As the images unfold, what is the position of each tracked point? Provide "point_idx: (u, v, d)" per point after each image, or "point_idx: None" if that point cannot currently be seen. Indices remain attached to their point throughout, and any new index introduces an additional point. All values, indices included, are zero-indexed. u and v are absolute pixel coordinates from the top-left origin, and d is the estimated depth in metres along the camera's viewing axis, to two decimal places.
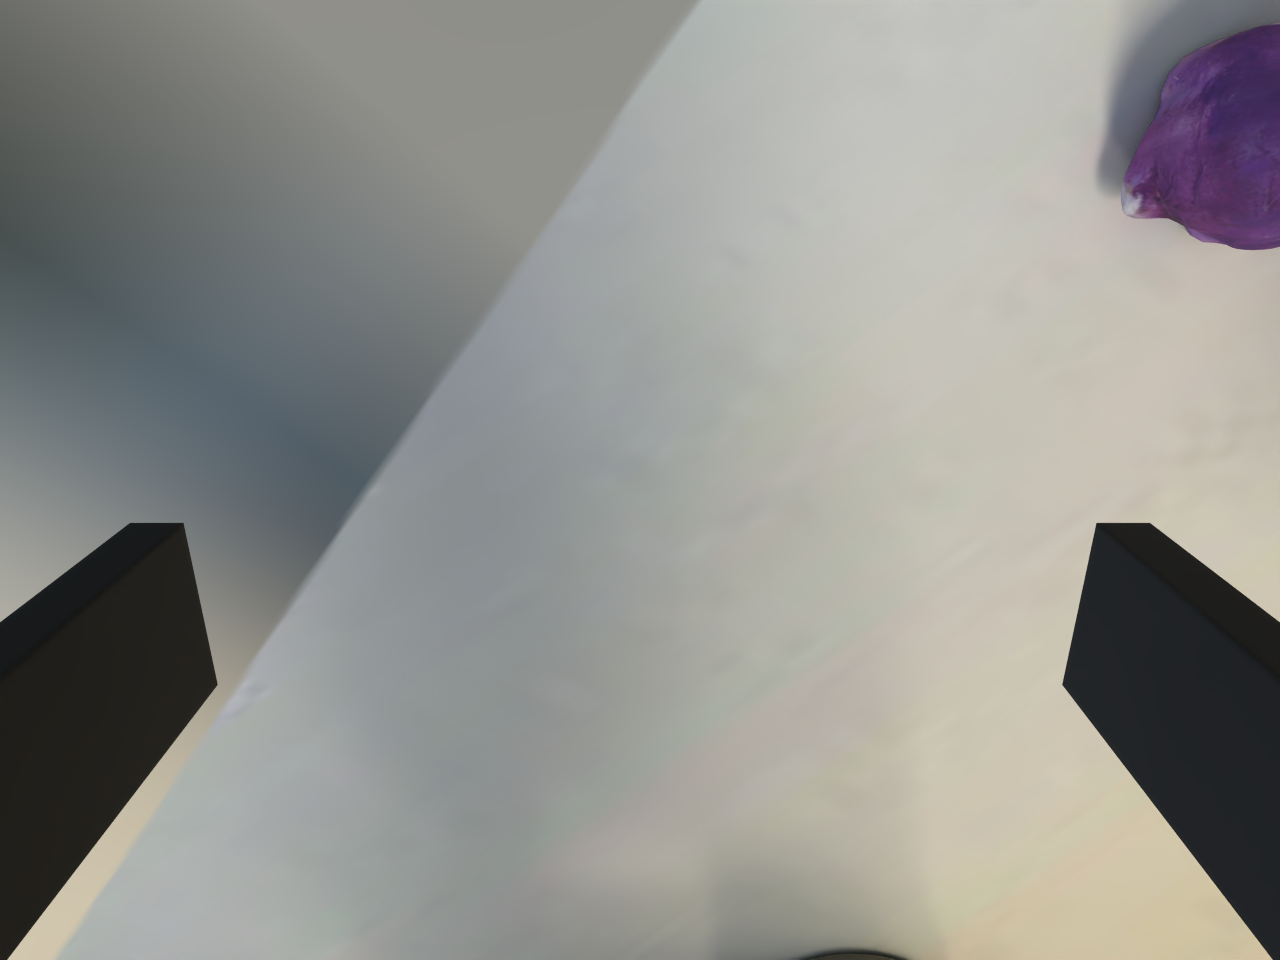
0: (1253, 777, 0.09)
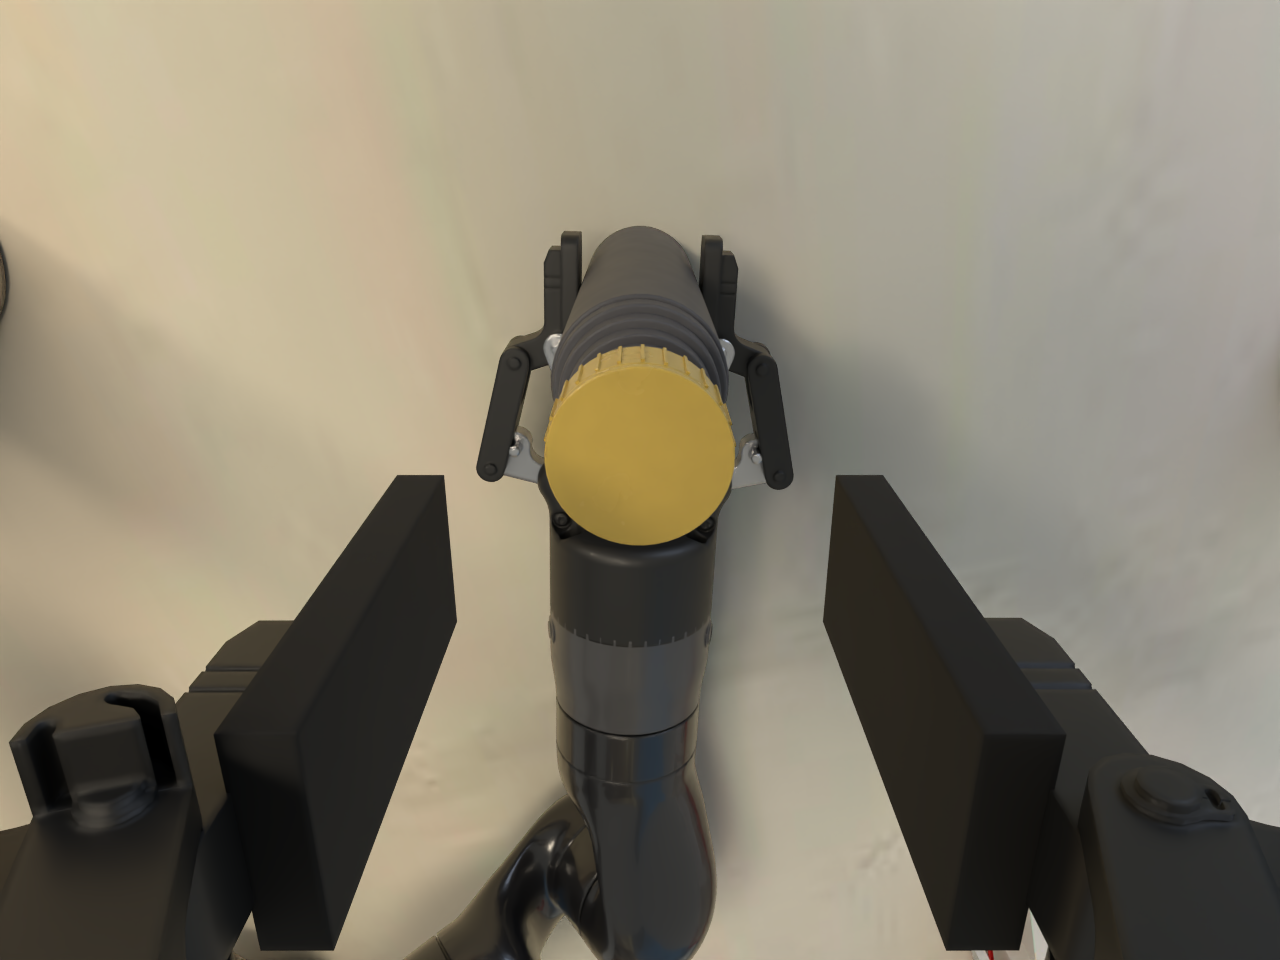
0: (892, 675, 0.11)
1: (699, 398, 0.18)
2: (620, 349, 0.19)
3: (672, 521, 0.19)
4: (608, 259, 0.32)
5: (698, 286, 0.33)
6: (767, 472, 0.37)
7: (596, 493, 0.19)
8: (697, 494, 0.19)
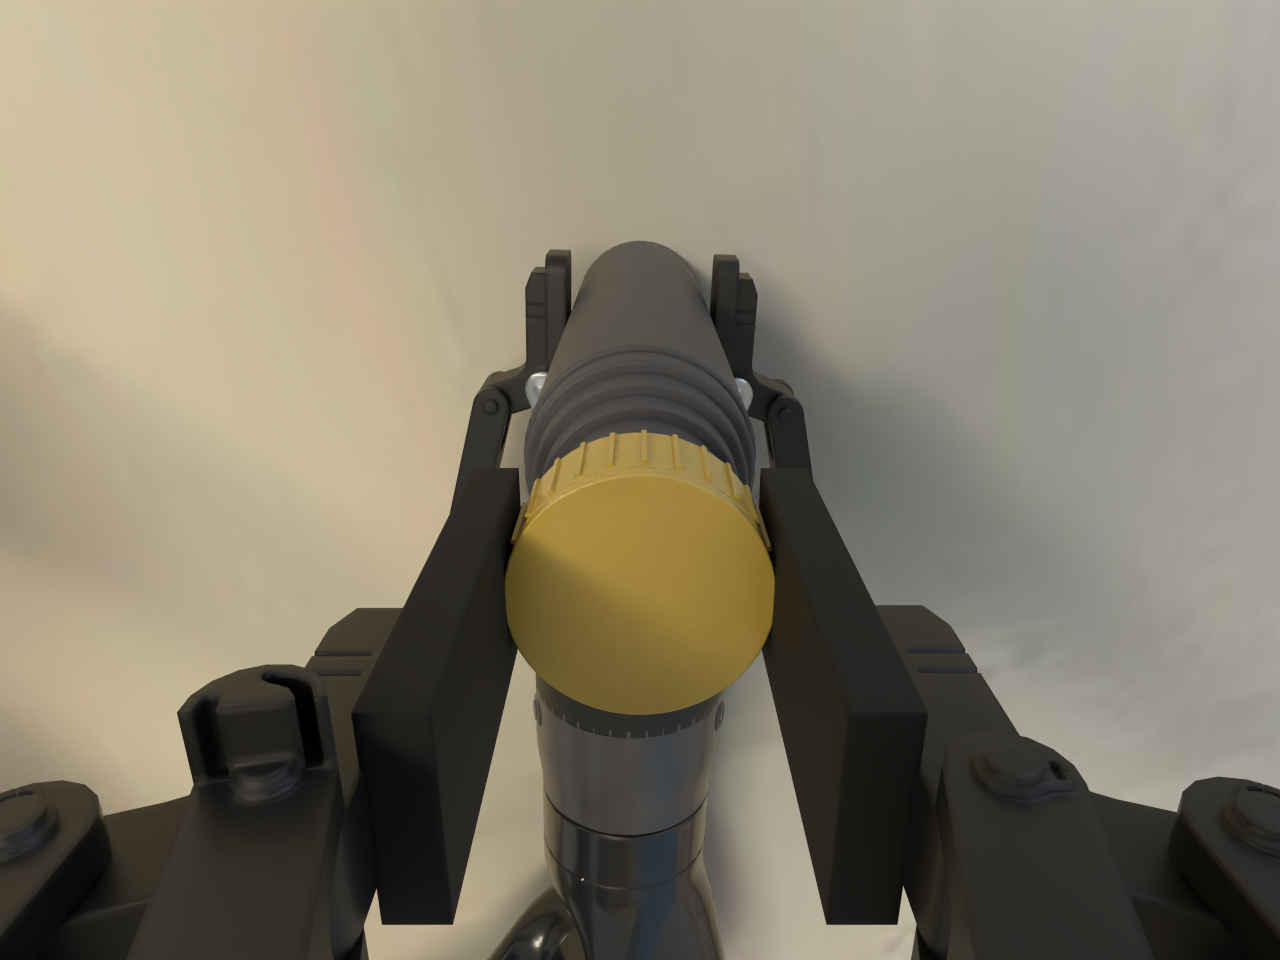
0: (795, 661, 0.11)
1: (726, 517, 0.12)
2: (612, 439, 0.14)
3: (686, 683, 0.13)
4: (602, 286, 0.26)
5: (710, 318, 0.27)
6: None
7: (578, 646, 0.13)
8: (722, 647, 0.13)
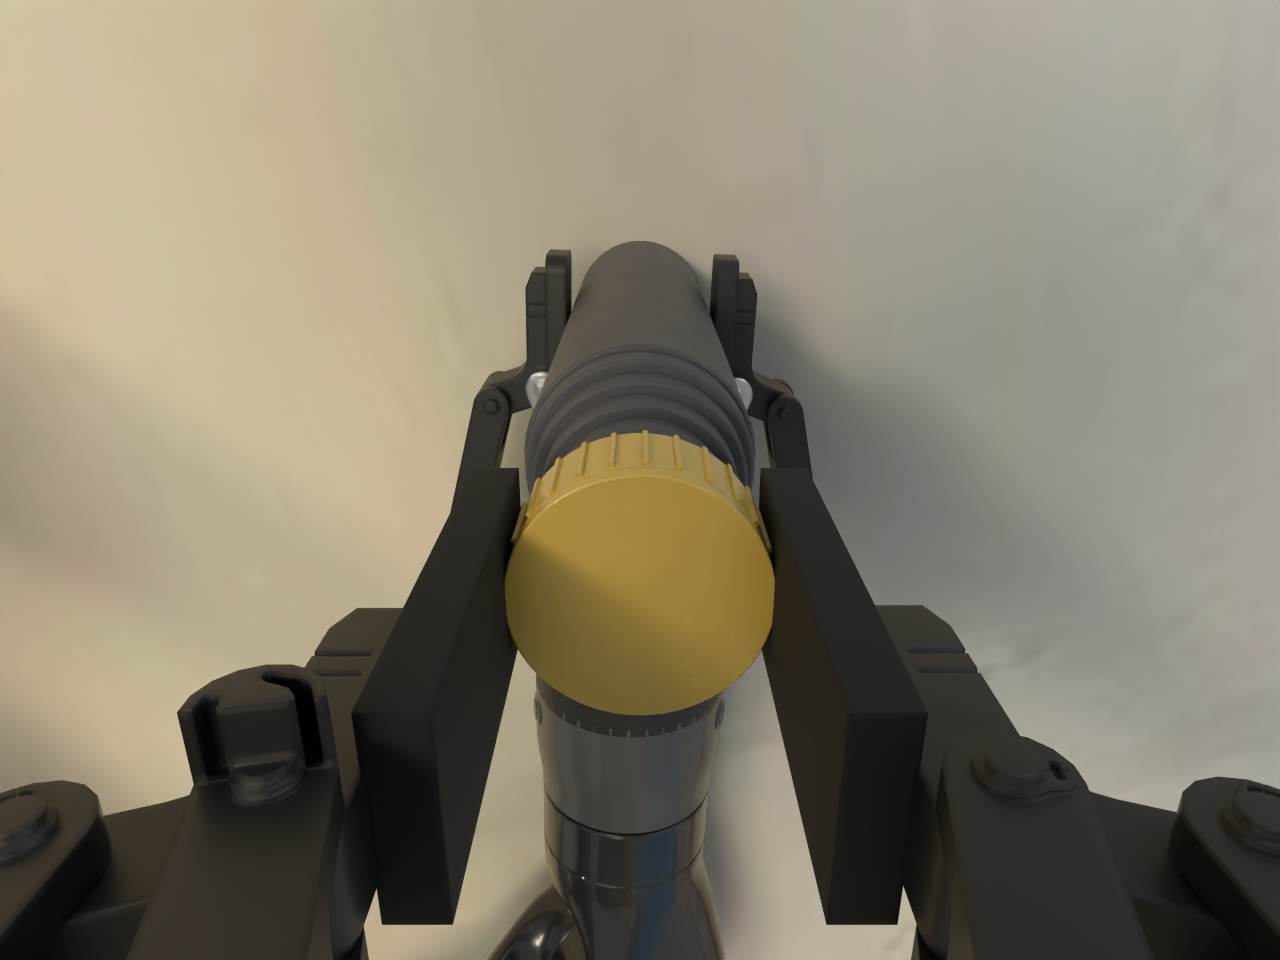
0: (795, 661, 0.11)
1: (557, 514, 0.12)
2: None
3: (743, 571, 0.13)
4: (602, 286, 0.26)
5: (710, 318, 0.27)
6: None
7: (682, 661, 0.13)
8: (706, 532, 0.13)
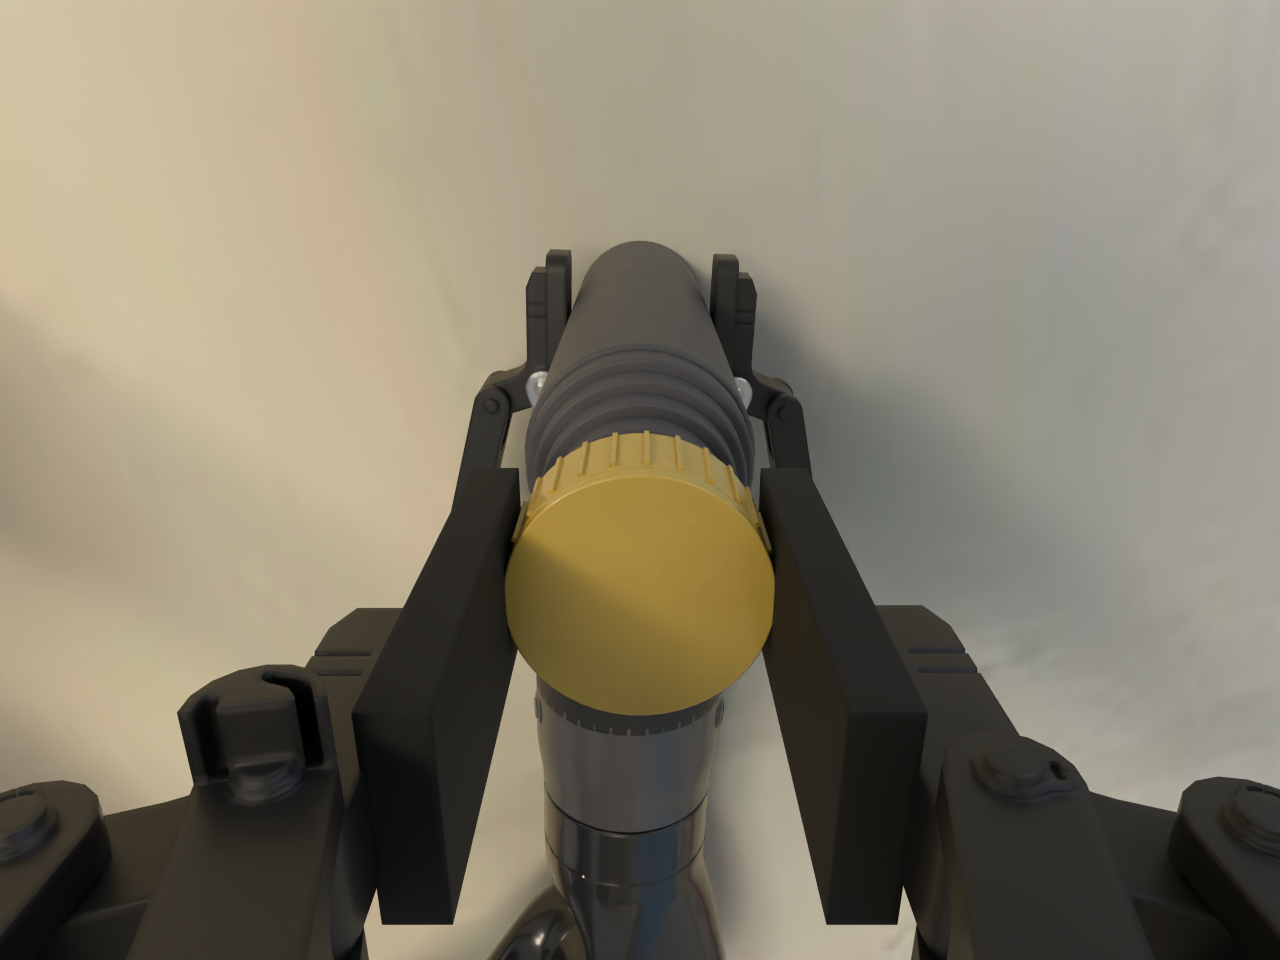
0: (795, 660, 0.11)
1: (538, 657, 0.13)
2: None
3: (617, 506, 0.12)
4: (602, 286, 0.26)
5: (710, 317, 0.27)
6: None
7: (715, 572, 0.13)
8: (570, 535, 0.13)
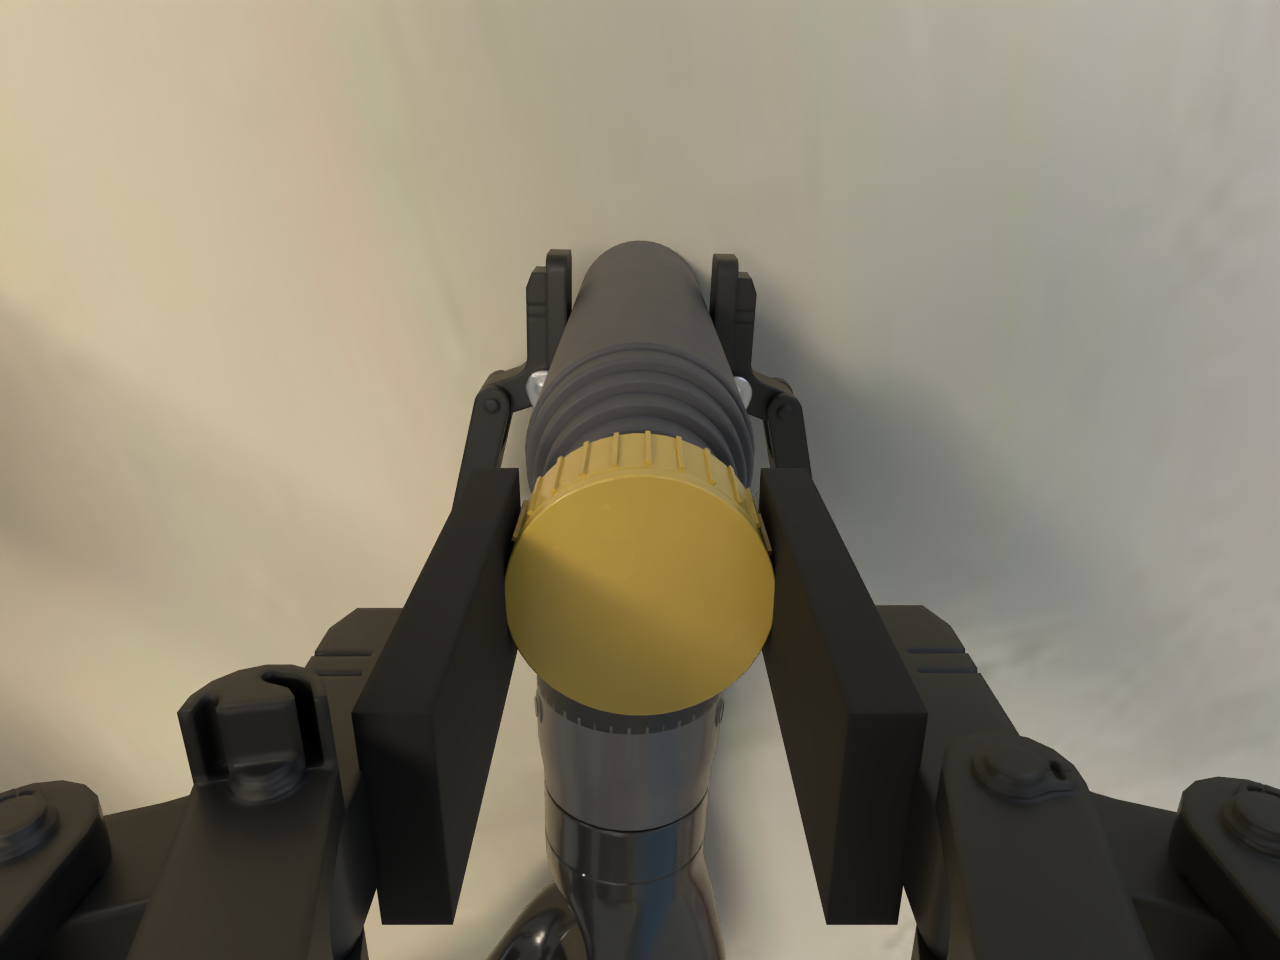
0: (795, 661, 0.11)
1: (689, 695, 0.14)
2: None
3: (532, 610, 0.13)
4: (602, 285, 0.26)
5: (710, 317, 0.27)
6: None
7: (615, 532, 0.13)
8: (559, 651, 0.13)
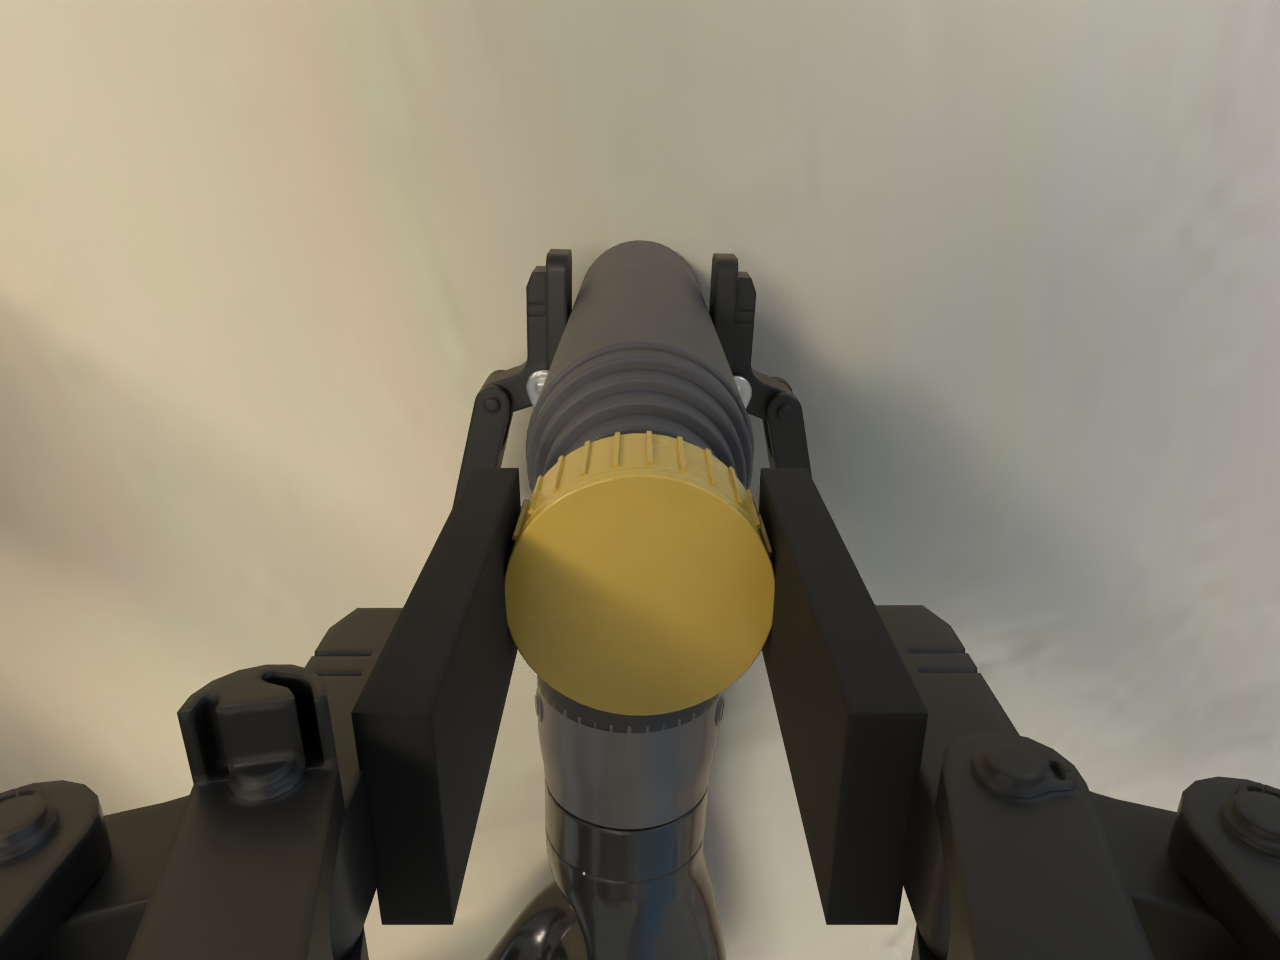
0: (795, 660, 0.11)
1: (759, 568, 0.13)
2: (682, 443, 0.14)
3: (634, 693, 0.14)
4: (602, 285, 0.26)
5: None
6: None
7: (560, 614, 0.13)
8: (684, 677, 0.13)
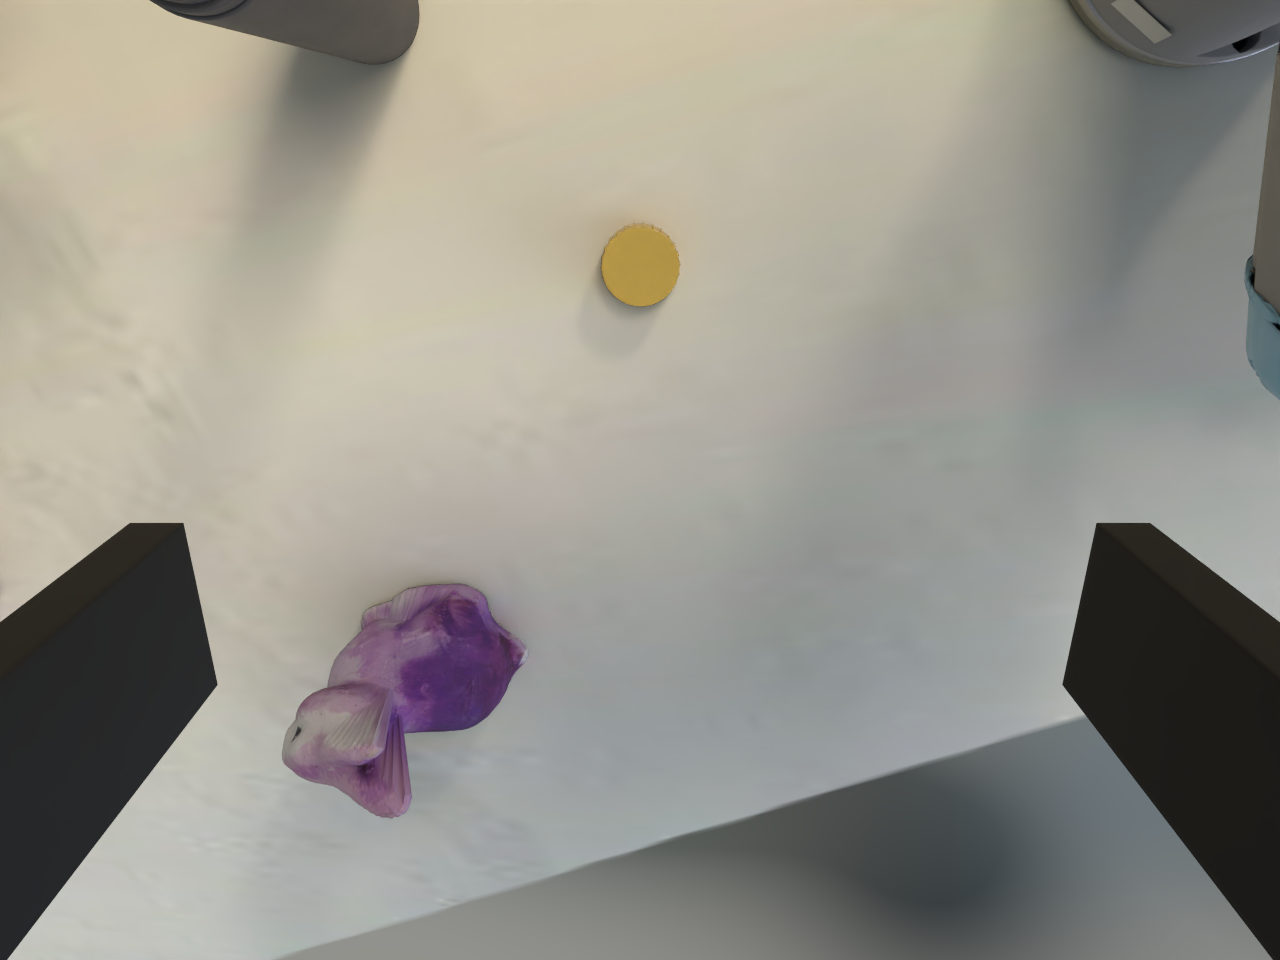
0: (1253, 777, 0.09)
1: (634, 231, 0.45)
2: (605, 246, 0.47)
3: (670, 273, 0.46)
4: None
5: (346, 36, 0.35)
6: None
7: (641, 290, 0.46)
8: (667, 257, 0.45)
